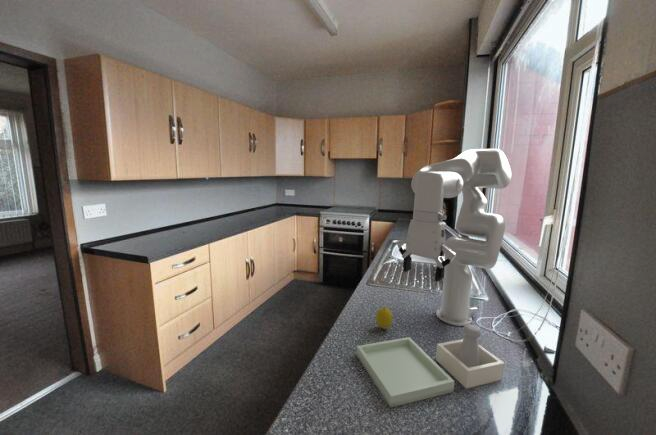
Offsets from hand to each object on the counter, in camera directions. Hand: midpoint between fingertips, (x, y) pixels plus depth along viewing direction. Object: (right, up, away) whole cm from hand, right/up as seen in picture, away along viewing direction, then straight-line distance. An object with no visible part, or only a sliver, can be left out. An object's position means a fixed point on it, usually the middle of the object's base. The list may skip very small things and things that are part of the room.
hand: (422, 275), depth 83 cm
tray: (-7, -26, -3) cm, 27 cm away
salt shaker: (+12, -27, -1) cm, 29 cm away
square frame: (+12, -26, -1) cm, 29 cm away
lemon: (-8, -23, +18) cm, 30 cm away
